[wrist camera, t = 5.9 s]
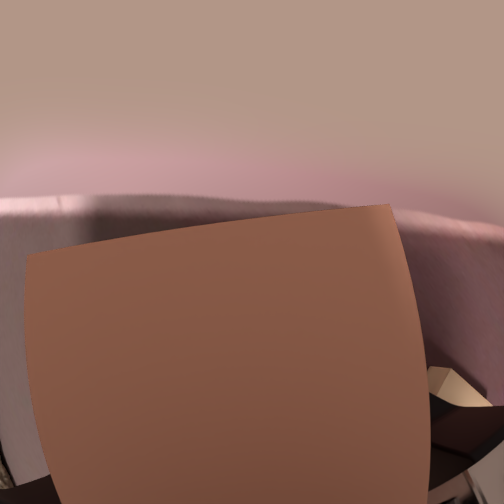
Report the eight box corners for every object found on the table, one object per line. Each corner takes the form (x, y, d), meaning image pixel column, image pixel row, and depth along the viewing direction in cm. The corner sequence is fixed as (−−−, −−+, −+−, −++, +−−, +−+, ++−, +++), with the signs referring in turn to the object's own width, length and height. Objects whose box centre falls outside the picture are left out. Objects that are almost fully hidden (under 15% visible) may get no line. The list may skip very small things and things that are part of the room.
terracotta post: (296, 401, 15) (421, 533, 2) (205, 412, 15) (90, 559, 2) (283, 313, 17) (389, 204, 4) (192, 325, 17) (27, 255, 3)
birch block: (420, 503, 14) (437, 516, 11) (347, 475, 15) (363, 493, 12) (482, 412, 16) (504, 416, 13) (426, 365, 17) (451, 368, 14)
